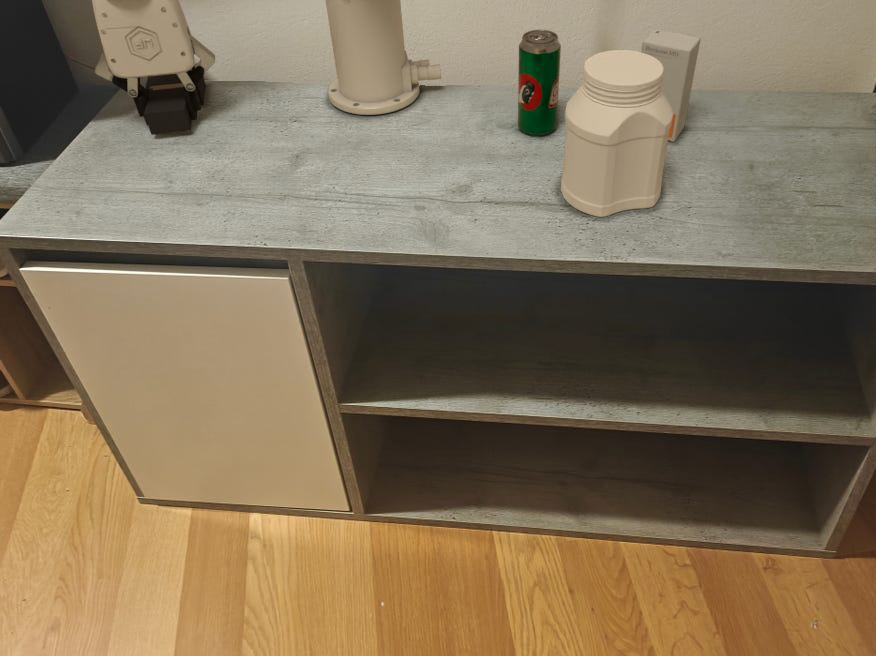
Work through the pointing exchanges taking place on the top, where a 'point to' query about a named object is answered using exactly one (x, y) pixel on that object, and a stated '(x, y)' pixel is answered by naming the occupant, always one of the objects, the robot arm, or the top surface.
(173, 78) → the charcoal pad
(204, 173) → the top surface
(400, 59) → the robot arm
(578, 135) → the jar
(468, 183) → the top surface
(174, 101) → the black box
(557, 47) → the soda can
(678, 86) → the cosmetic box
